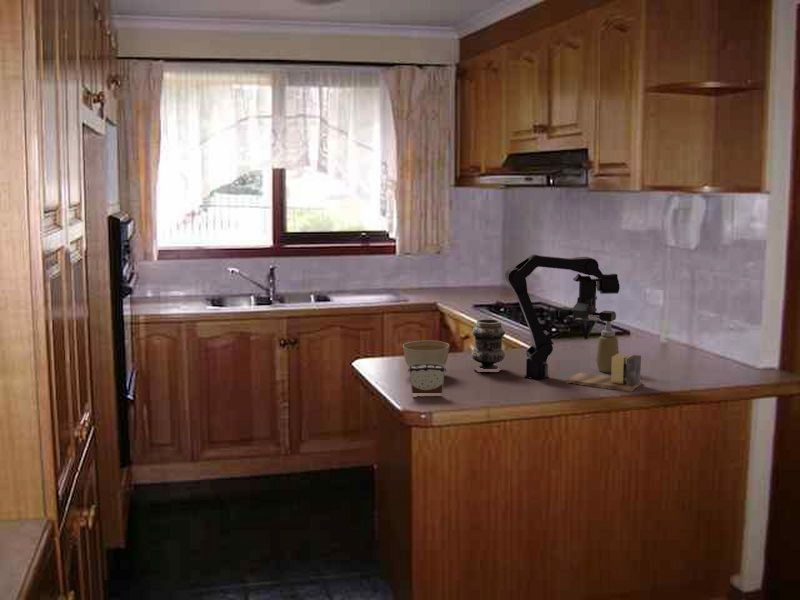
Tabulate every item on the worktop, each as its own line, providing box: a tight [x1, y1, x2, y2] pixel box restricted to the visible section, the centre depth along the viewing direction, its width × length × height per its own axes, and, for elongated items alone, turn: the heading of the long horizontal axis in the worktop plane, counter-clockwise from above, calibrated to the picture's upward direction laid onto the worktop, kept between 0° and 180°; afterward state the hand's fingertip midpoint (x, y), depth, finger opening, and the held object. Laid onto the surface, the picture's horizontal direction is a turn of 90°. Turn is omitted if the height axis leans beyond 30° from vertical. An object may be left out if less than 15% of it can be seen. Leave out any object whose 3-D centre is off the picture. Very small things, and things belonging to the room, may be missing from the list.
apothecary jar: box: [470, 318, 506, 369], centre depth 307 cm, size 12×12×18 cm
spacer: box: [610, 353, 630, 384], centre depth 284 cm, size 4×6×9 cm, turn 148°
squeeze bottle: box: [595, 321, 620, 373], centre depth 304 cm, size 8×8×18 cm
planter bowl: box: [402, 340, 450, 368], centre depth 300 cm, size 16×16×11 cm
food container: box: [407, 362, 448, 394], centre depth 275 cm, size 12×6×10 cm, turn 92°
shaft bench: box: [565, 354, 643, 392], centre depth 287 cm, size 22×12×10 cm, turn 58°
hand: (586, 339), depth 297 cm, fingers closed
